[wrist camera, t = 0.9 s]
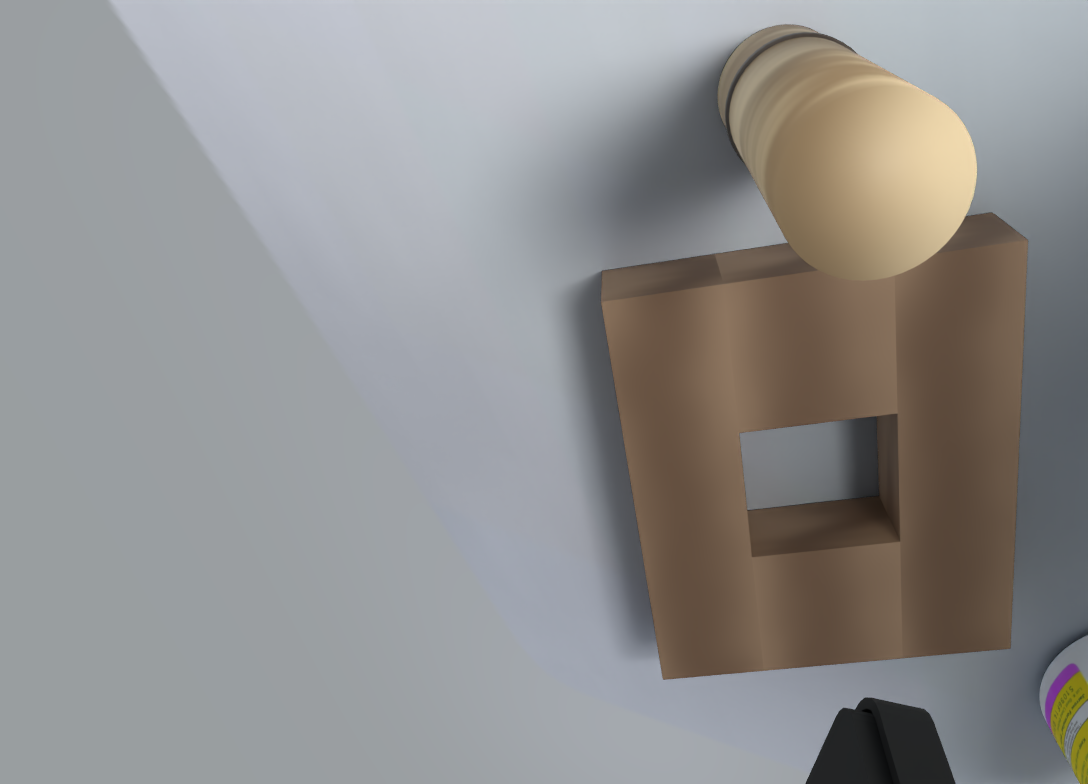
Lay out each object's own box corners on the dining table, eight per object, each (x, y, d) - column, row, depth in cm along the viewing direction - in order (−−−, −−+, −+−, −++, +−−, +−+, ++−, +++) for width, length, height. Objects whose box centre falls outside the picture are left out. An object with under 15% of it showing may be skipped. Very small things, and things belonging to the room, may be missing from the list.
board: (992, 212, 31) (1027, 239, 29) (982, 597, 38) (1010, 648, 35) (601, 270, 33) (601, 301, 30) (659, 628, 40) (662, 679, 37)
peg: (845, 10, 29) (983, 63, 18) (851, 146, 31) (979, 268, 20) (708, 34, 29) (763, 101, 19) (721, 167, 31) (777, 297, 21)
